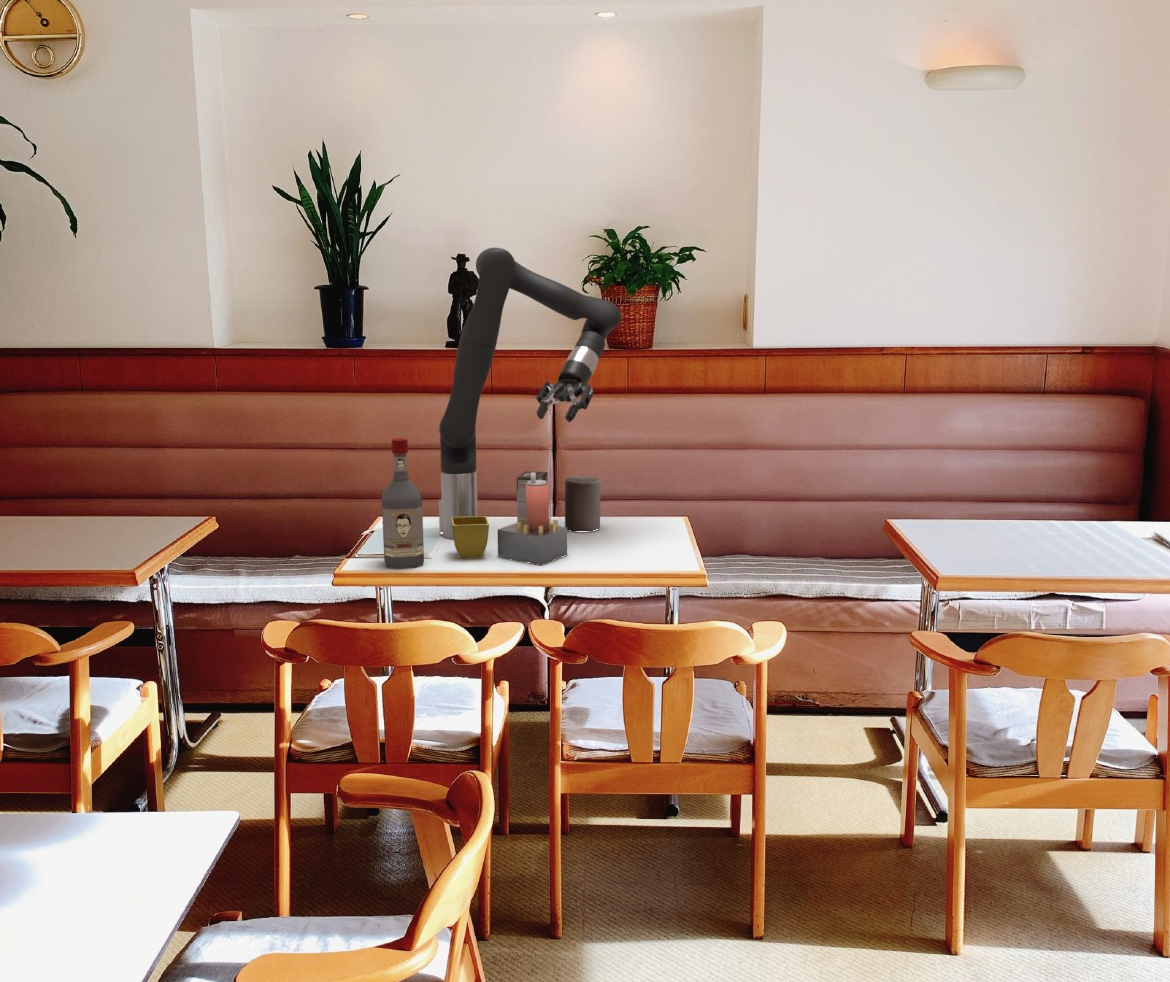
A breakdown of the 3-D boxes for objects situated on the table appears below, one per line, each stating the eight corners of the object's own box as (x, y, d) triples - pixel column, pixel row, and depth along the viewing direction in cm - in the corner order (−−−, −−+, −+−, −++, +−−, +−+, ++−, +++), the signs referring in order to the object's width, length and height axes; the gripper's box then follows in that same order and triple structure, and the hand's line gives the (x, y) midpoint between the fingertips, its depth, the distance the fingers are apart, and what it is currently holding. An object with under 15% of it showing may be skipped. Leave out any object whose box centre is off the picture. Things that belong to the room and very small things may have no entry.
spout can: (522, 529, 253) (520, 472, 250) (535, 524, 257) (534, 469, 254) (540, 532, 250) (538, 475, 247) (553, 527, 254) (552, 471, 251)
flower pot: (487, 550, 261) (486, 515, 259) (490, 559, 253) (489, 523, 251) (451, 552, 260) (450, 516, 258) (453, 561, 251) (452, 525, 249)
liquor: (383, 559, 253) (378, 437, 246) (421, 557, 255) (417, 435, 248) (385, 569, 244) (380, 443, 238) (424, 567, 246) (420, 441, 240)
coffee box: (525, 528, 282) (525, 470, 279) (548, 530, 281) (548, 471, 278) (516, 537, 274) (515, 477, 270) (540, 538, 272) (539, 478, 269)
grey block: (488, 555, 256) (487, 519, 254) (515, 545, 265) (514, 511, 263) (541, 565, 248) (541, 528, 246) (567, 555, 257) (567, 519, 255)
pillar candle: (562, 532, 279) (562, 477, 275) (567, 523, 288) (567, 470, 285) (598, 533, 278) (599, 478, 274) (602, 524, 287) (603, 471, 284)
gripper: (550, 357, 266) (523, 406, 259) (597, 360, 258) (571, 411, 251) (561, 376, 272) (536, 425, 265) (608, 379, 264) (583, 430, 257)
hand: (553, 418), depth 258 cm, fingers open, 8 cm apart
